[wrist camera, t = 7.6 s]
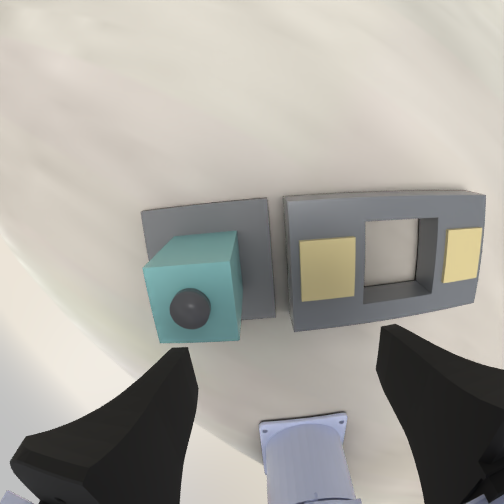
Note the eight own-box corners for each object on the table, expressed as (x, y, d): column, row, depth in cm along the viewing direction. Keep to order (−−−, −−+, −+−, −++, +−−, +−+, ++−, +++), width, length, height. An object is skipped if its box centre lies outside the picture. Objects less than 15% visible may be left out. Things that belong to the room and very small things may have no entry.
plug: (243, 290, 20) (238, 347, 14) (183, 294, 20) (157, 349, 14) (236, 230, 19) (228, 265, 13) (174, 236, 19) (138, 272, 13)
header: (456, 290, 21) (475, 304, 18) (289, 313, 21) (294, 334, 18) (465, 190, 18) (488, 195, 16) (282, 196, 19) (288, 202, 16)
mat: (275, 314, 21) (275, 317, 21) (163, 321, 21) (162, 323, 21) (266, 197, 19) (267, 198, 18) (142, 210, 19) (140, 211, 19)
